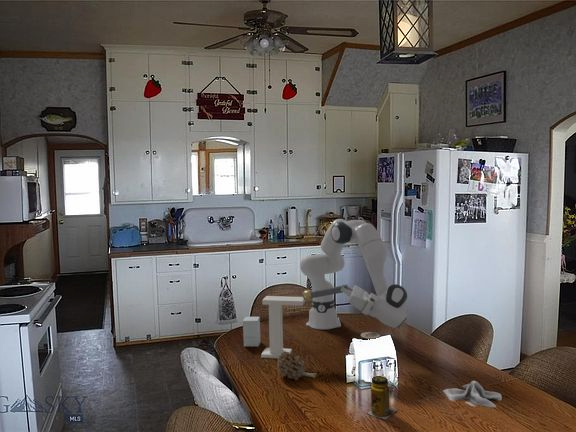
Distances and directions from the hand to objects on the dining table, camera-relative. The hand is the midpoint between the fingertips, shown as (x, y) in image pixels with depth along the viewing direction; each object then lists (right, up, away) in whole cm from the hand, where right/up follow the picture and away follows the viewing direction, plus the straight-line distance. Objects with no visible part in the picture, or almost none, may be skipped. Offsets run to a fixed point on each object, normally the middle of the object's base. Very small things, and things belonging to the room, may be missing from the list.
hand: (341, 287), depth 220 cm
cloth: (+44, -35, -39) cm, 68 cm away
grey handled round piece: (-19, -34, -20) cm, 44 cm away
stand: (-25, -32, +8) cm, 41 cm away
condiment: (+8, -36, -48) cm, 61 cm away
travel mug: (+9, -34, -21) cm, 41 cm away
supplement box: (-41, -31, +24) cm, 57 cm away
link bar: (-7, -4, +2) cm, 8 cm away
